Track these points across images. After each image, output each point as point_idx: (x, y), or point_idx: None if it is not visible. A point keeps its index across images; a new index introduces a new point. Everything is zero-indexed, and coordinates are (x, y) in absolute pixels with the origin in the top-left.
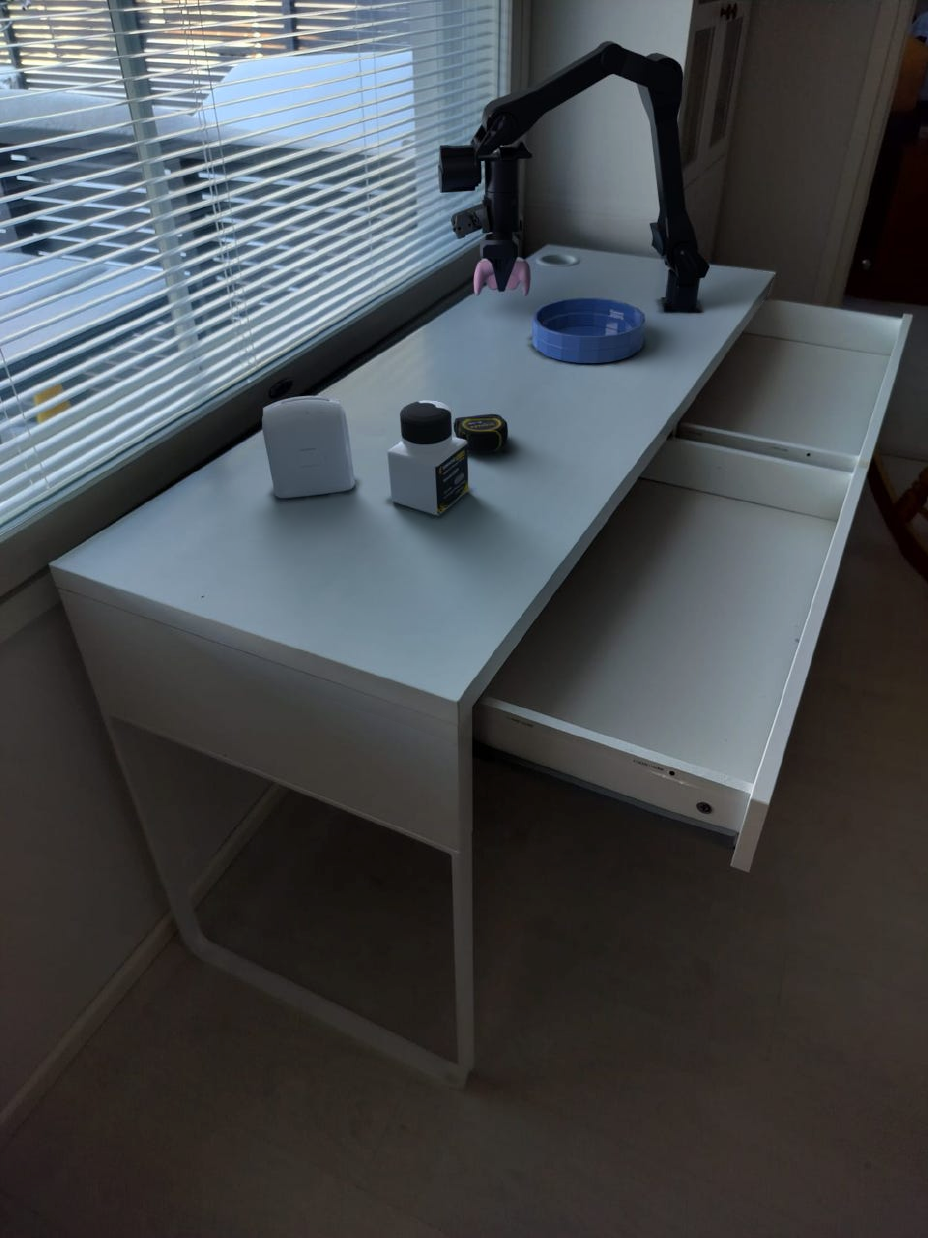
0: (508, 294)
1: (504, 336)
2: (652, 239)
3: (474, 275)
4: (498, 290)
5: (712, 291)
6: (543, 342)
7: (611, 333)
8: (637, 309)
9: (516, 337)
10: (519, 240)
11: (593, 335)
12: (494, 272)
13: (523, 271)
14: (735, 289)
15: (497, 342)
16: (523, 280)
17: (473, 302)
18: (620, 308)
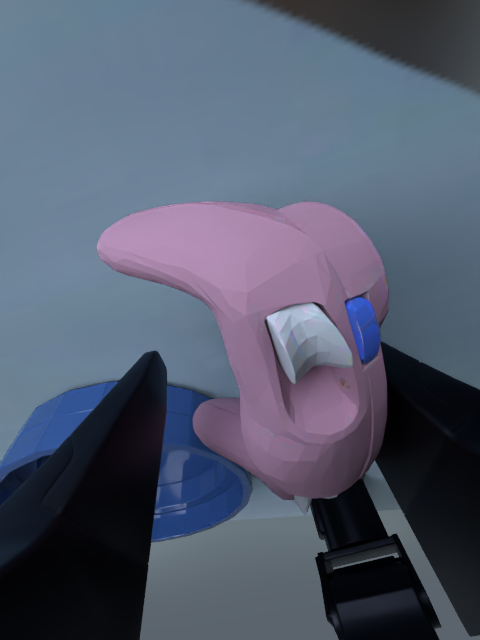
0: (461, 225)
1: (87, 317)
2: (418, 603)
3: (201, 211)
4: (142, 356)
5: (390, 491)
6: (12, 443)
7: (196, 463)
8: (205, 528)
9: (99, 345)
10: (455, 605)
11: (175, 450)
12: (58, 450)
13: (250, 465)
14: (393, 500)
15: (30, 313)
16: (215, 443)
17: (398, 92)
18: (230, 501)
